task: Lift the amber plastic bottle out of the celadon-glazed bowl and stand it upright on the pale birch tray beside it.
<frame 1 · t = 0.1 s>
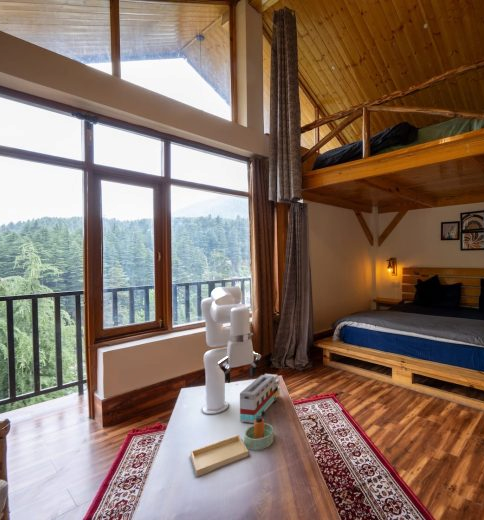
hand: (240, 378, 122), 31 cm above the table, tool pointing down, fingers open, 9 cm apart
bowl: (259, 442, 130), on the table
multicoloured piece: (261, 409, 159), on the table
bottle: (259, 441, 130), resting on bowl
tray: (219, 457, 121), on the table
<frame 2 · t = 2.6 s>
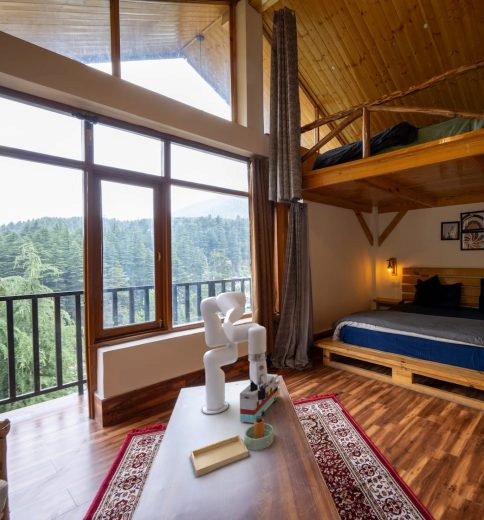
hand: (257, 394, 129), 21 cm above the table, tool pointing down, fingers open, 9 cm apart
nothing on the table moved.
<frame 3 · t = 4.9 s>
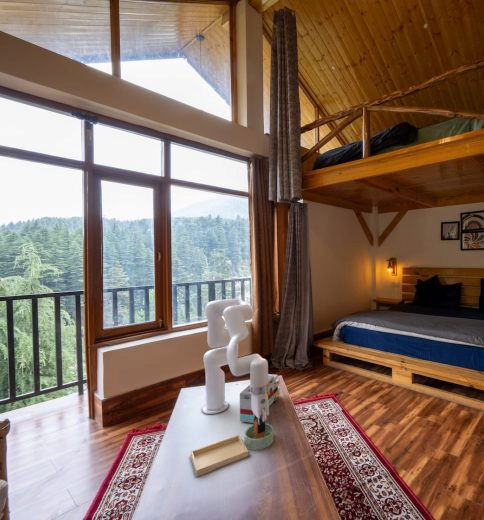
hand: (259, 429, 130), 6 cm above the table, tool pointing down, fingers closed on bottle, 4 cm apart
bottle: (259, 441, 130), point 1 cm above the table, touching bowl, gripper
everything else where it was.
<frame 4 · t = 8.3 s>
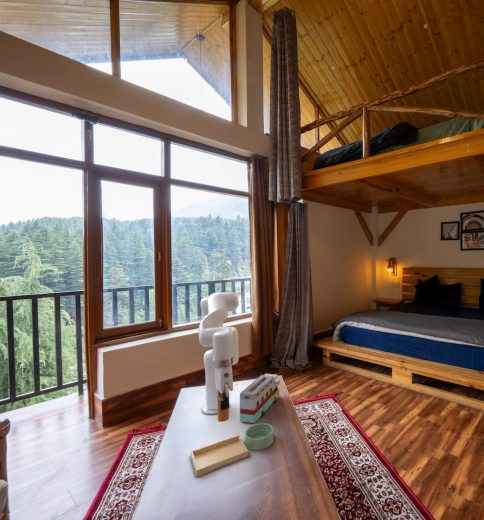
hand: (223, 406, 121), 20 cm above the table, tool pointing down, fingers closed on bottle, 4 cm apart
bottle: (223, 419, 121), point 15 cm above the table, touching gripper
everything else where it was.
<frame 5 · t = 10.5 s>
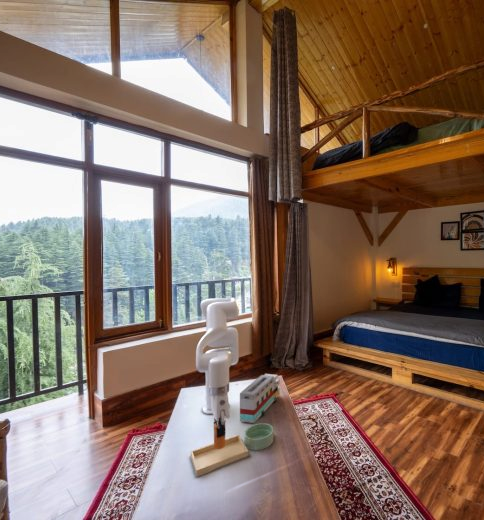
hand: (219, 432, 121), 10 cm above the table, tool pointing down, fingers closed on bottle, 4 cm apart
bottle: (219, 445, 121), point 5 cm above the table, touching gripper
everything else where it was.
when the fingers open (6 cm above the table, at t = 11.9 s): bottle stays where it is, resting on tray.
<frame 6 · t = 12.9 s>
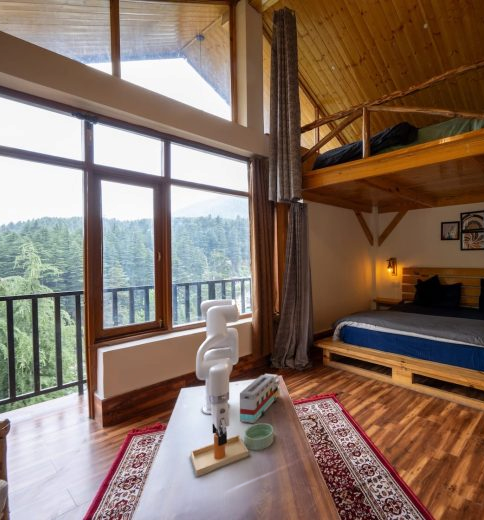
hand: (219, 438, 121), 8 cm above the table, tool pointing down, fingers open, 9 cm apart
bottle: (219, 455, 121), resting on tray
everything else where it was.
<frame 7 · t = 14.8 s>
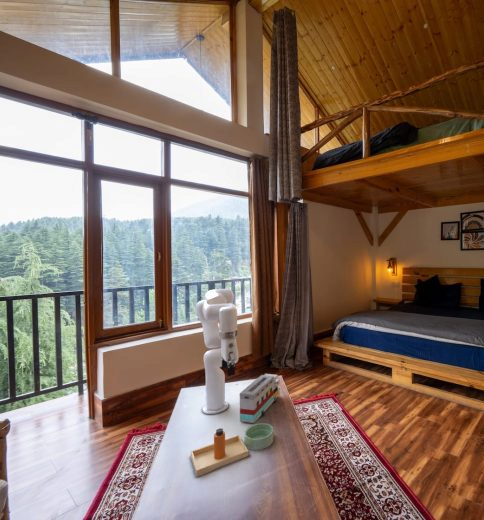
hand: (228, 371, 135), 29 cm above the table, tool pointing down, fingers open, 9 cm apart
nothing on the table moved.
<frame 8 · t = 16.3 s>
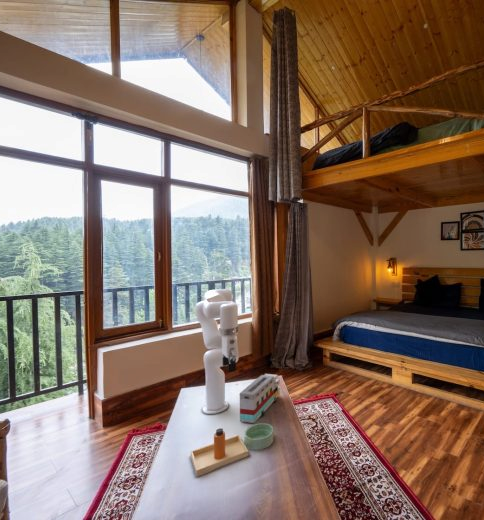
hand: (229, 368, 136), 30 cm above the table, tool pointing down, fingers open, 9 cm apart
nothing on the table moved.
at the end: bottle inside the target area in the tray (0.1 cm from its centre), point 0.5 cm above the tray's base; bottle tilted 0°; bottle touching tray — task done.
